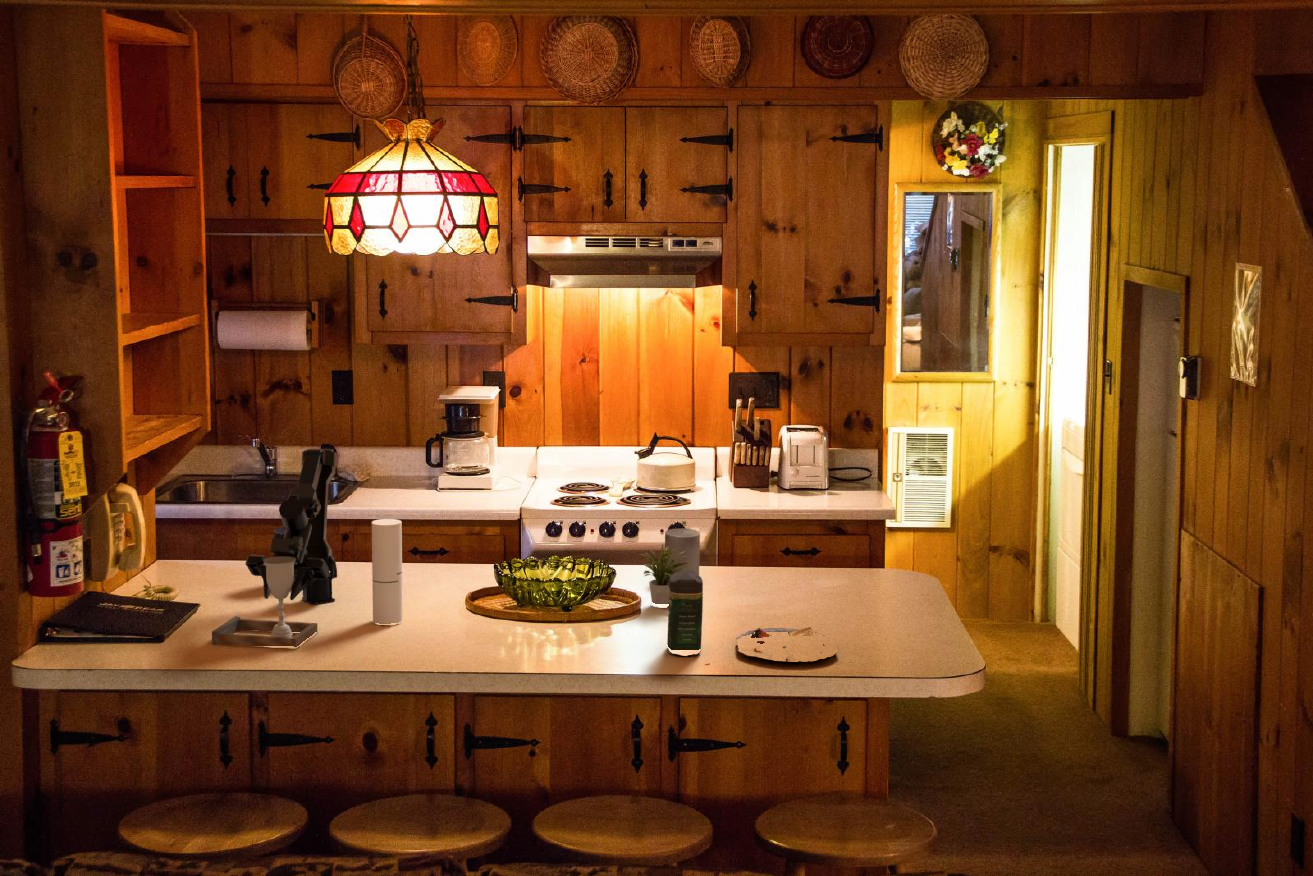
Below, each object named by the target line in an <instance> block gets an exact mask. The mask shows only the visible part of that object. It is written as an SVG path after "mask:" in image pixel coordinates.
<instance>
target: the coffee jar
mask: <svg viewBox="0 0 1313 876" xmlns="http://www.w3.org/2000/svg"><path fill="white" fill-rule="evenodd" d="M703 583H704V582H703V579H702V577H701V575H700V574H699V575H697V574H696V573H694V572H693V571H677V572H676V573H674V574H673V575H671V576H670V579H669V606H668V608H667V611H668V613H667V614H668V615H667V645H668V647H669V648H670V649H671V650H699V649H701V650H702V636H703V634H702V632H703V631H702V629H703V608H704V607H703V606H704V603H703V602H704V600H703V599H704V584H703ZM667 645H666V646H667Z"/></svg>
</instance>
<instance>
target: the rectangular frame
mask: <svg viewBox="0 0 1313 876" xmlns="http://www.w3.org/2000/svg"><path fill="white" fill-rule="evenodd" d="M284 622H285V624H287V625H288V626H289V627H290V629H291V632H300V633H296V635H294V636H293V637H292V636H290V637H277V636H271V635H261V634H260V635H258V634H242V633H241V634H240V633H236V632H238V631H249V630H258V631H257V632H265V631H272V630H273V629H274V626H275V625H277V624H278V623H279V620H270V619H269V620H267V619H254V618H253V619H252V618H241V616H238V615H236V616H234V617H232V618H231V619H229V620H227V621H226V622H224V623H223V624H221V625H219V626H218V627H217V628H215V629H213V630H212V631H211V644H212V645H214V646H215V645H216V646H217V645H218V646H231V647H232V646H234V647H247V646H294V647H297V646H299V645H300V644H301V643H302V642H303V641H305V640H306V639H307V638H309V637H310V636H312V635H313V634H314V633H315V632H317V633H318V623H317V622H303V621H286V620H284Z"/></svg>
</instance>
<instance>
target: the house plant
mask: <svg viewBox="0 0 1313 876" xmlns="http://www.w3.org/2000/svg"><path fill="white" fill-rule="evenodd" d="M668 549H669V547H668V546H667V547H666V548H665V547H664V543H662V544H661V548H660V561H659V558H658V557H657V554H656V553H655V552H654V551H653V550H651V549H649V552H651V553H650V554H652V557H653V558H652V557H651V556H650V554H648V553H647V552H644V553H645V554H644V553H641V554H640V555H641V556H644V557H645V559H646V560H647V561H648V562H649V563H645V564H643V565H644V566H645V567H646V568H649V570H644V572H643V575H644V577H646V576H652V577H654V579H651V580H650V581H649V582H648V583H649V590H650V598H651V603H652V602H653V603H655V604H669V579H670V577H669V576H671V575H673V574H674V572H675V571H678V570H684V571H686V570H689V569H677V570H675V568H677V567H678V566H681V565H685V564H691V563H689V562H683V563H677V564H674V565H672V564H673V563H674V562H675V561H676V560H677V559H678V558H680V557H679V556H680V555H681V554H682V553H684V552H685V551H683V552H681V553H679V554H678V555H677V556H676V557H675V558H674V559H673V560H672V562H671V563H669V564H667V562H668V560H669V558H670V556H671V554H672V553H673V551H674V550H675V549H676V547H675V548H674V549H673V550H672V551H671V552H670V553H669V551H668ZM682 557H686V556H682ZM678 560H683V559H678ZM678 560H677V561H678ZM684 560H685V559H684ZM667 565H669V566H668V567H666V566H667ZM650 570H651V571H650ZM674 570H675V571H674ZM673 571H674V572H673Z"/></svg>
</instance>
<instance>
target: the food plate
mask: <svg viewBox="0 0 1313 876" xmlns="http://www.w3.org/2000/svg"><path fill="white" fill-rule="evenodd" d="M754 632H755V634H754ZM766 632H788V634H789V636H796V635H800V636H813V632H815V631H813V628H812V627H811V626H807V627H804V628H801V629H798V628H796V629H795V628H787V627H786V628H785V627H767V628H760V627H756V629H751V630H749V631H746V632H744V633H741V634H740V635H738V636H737V637H735V640H737V639H739V638H741V637H742V636H747V635H750V634H752V636H751V638H755V637H756V638H763V637H769V636H772V635H769V634H767V633H766ZM815 633H818V634H820V633H819V632H817V631H816V632H815ZM821 635H822V636H826V635H825V634H821ZM740 636H741V637H740ZM757 643H760V644H763V643H765V642H764V641H757ZM823 646H825V645H824V644H823ZM737 649H738V648H737ZM738 650H739V649H738ZM821 653H822V652H821Z"/></svg>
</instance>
